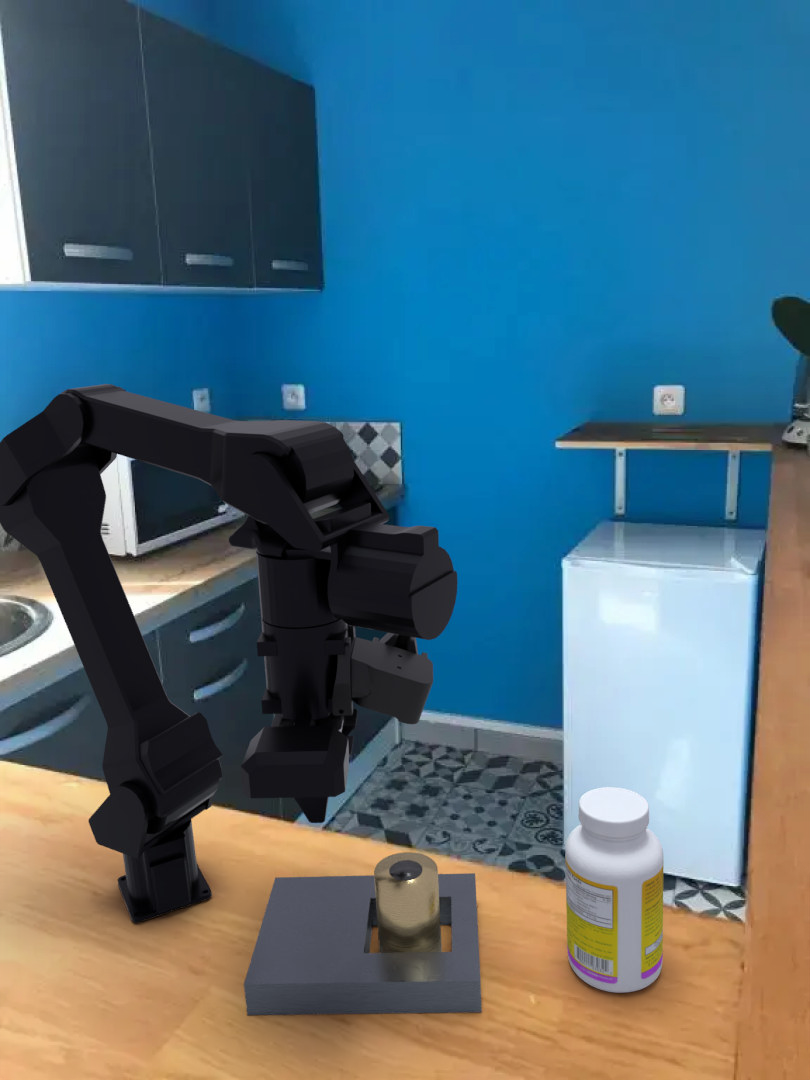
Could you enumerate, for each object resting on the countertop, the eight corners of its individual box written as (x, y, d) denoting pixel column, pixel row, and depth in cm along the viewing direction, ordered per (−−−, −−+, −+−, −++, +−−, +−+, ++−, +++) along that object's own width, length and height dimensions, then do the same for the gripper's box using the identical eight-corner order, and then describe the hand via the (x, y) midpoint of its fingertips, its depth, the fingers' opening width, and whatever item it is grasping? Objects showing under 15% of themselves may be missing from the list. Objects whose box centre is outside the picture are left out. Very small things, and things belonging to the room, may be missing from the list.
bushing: (369, 946, 70) (363, 864, 68) (423, 925, 72) (418, 844, 70) (397, 984, 66) (391, 897, 64) (453, 960, 68) (449, 875, 66)
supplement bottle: (647, 930, 70) (649, 776, 67) (674, 994, 64) (678, 826, 60) (558, 936, 70) (556, 782, 67) (577, 1001, 64) (576, 833, 60)
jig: (247, 1015, 64) (243, 984, 63) (277, 904, 75) (275, 877, 75) (481, 1012, 63) (480, 980, 62) (476, 900, 75) (475, 873, 74)
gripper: (424, 666, 53) (431, 902, 57) (424, 569, 71) (430, 754, 75) (230, 670, 54) (250, 904, 58) (279, 573, 72) (292, 757, 76)
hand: (317, 820), depth 67 cm, fingers closed
